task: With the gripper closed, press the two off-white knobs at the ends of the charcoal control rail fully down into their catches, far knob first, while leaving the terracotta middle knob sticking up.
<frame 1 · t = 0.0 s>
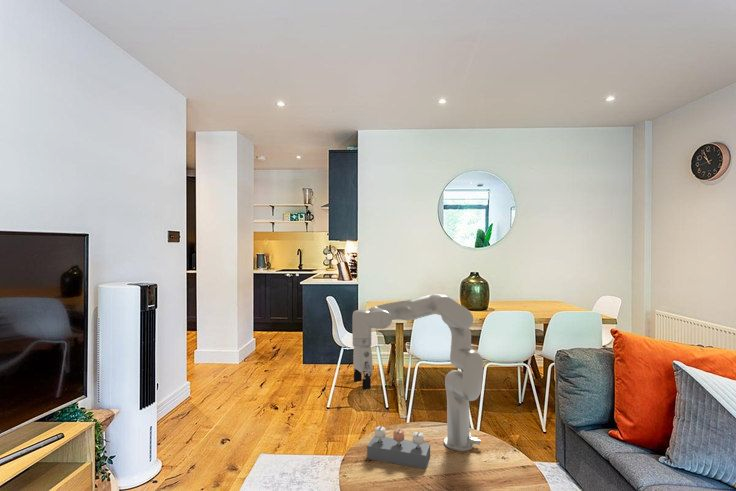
hand: (362, 385, 152), 31 cm above the table, tool pointing down, fingers open, 9 cm apart
knob near: (418, 441, 154), point 7 cm above the table, slide at 0.0 cm
knob far: (380, 435, 160), point 7 cm above the table, slide at 0.0 cm
knob middle: (398, 438, 157), point 7 cm above the table, slide at 0.0 cm
control rail: (398, 457, 157), on the table
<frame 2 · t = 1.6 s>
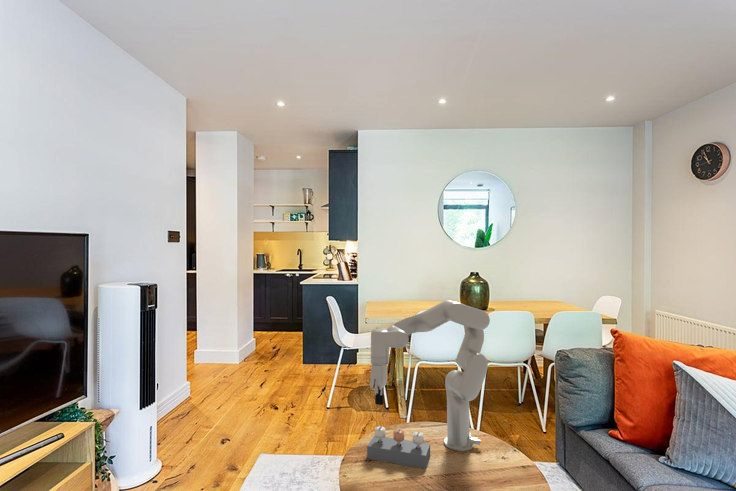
hand: (379, 403, 160), 21 cm above the table, tool pointing down, fingers closed
nothing on the table moved.
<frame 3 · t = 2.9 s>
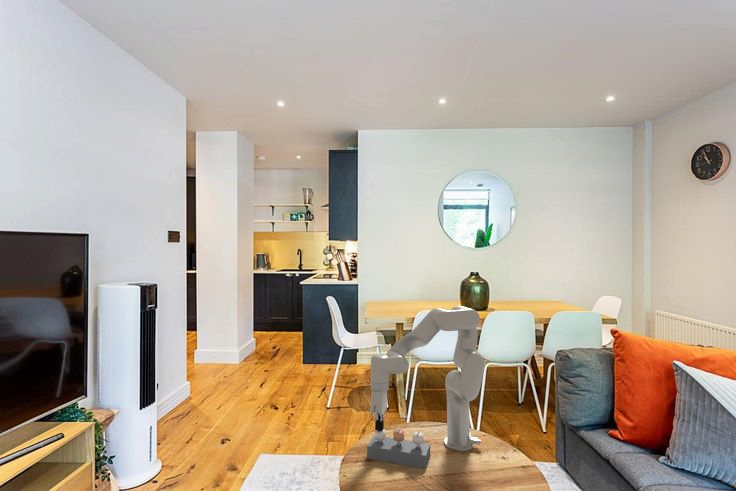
hand: (379, 429, 160), 10 cm above the table, tool pointing down, fingers closed
knob far: (380, 437, 159), point 7 cm above the table, slide at 0.7 cm, touching gripper
everything else where it was.
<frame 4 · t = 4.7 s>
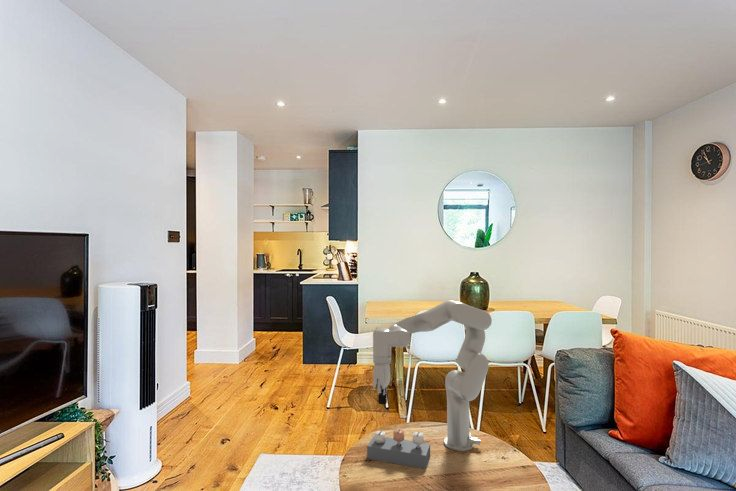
hand: (382, 403, 160), 21 cm above the table, tool pointing down, fingers closed
knob far: (380, 440, 159), point 6 cm above the table, slide at 1.9 cm
everything else where it was.
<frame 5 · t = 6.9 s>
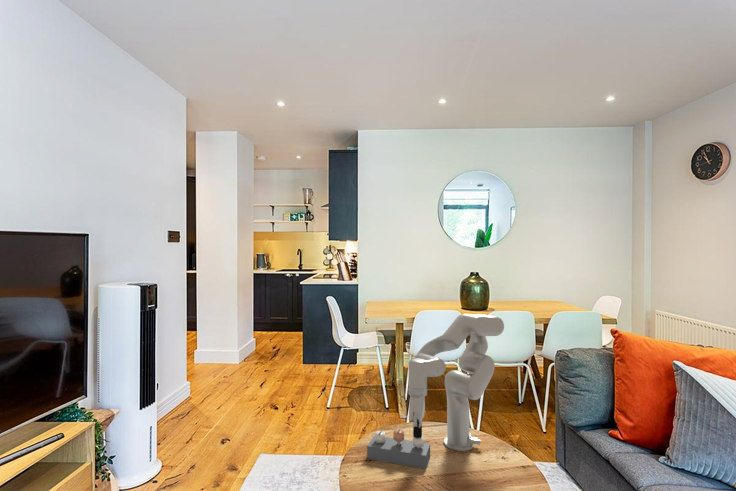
hand: (417, 436, 154), 10 cm above the table, tool pointing down, fingers closed
knob near: (418, 444, 154), point 6 cm above the table, slide at 1.2 cm, touching gripper
everything else where it was.
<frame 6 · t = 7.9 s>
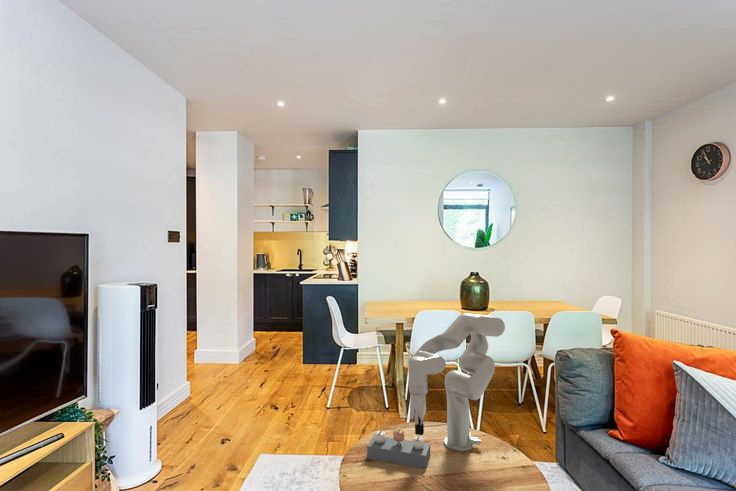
hand: (419, 433, 155), 10 cm above the table, tool pointing down, fingers closed
knob near: (418, 446, 154), point 6 cm above the table, slide at 1.9 cm
everything else where it was.
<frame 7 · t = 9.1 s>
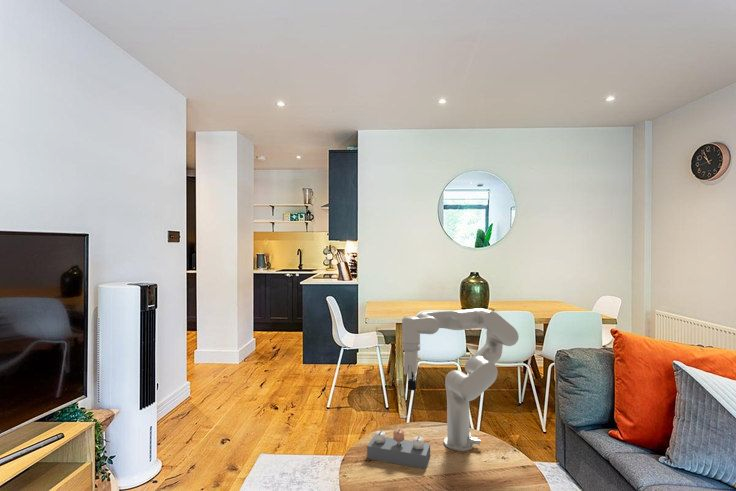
hand: (412, 389, 163), 26 cm above the table, tool pointing down, fingers closed
nothing on the table moved.
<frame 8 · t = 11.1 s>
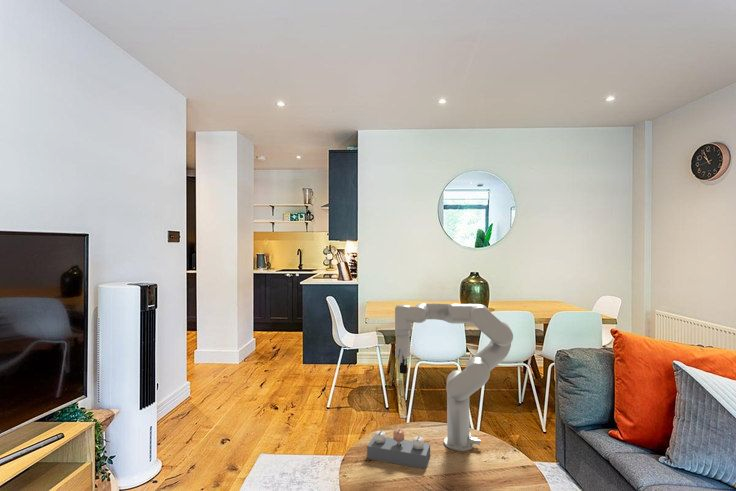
hand: (403, 372, 174), 29 cm above the table, tool pointing down, fingers closed
nothing on the table moved.
at the end: knob far slide at 1.9 cm; knob near slide at 1.9 cm; knob middle slide at 0.0 cm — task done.
